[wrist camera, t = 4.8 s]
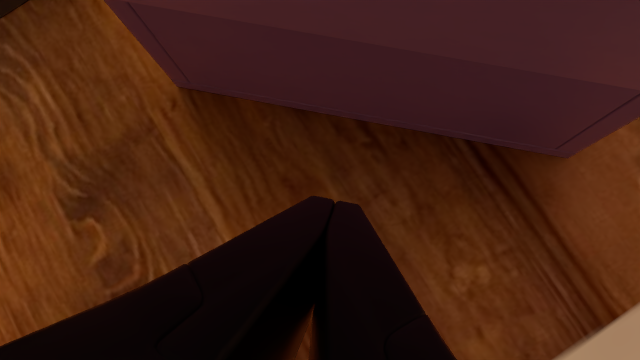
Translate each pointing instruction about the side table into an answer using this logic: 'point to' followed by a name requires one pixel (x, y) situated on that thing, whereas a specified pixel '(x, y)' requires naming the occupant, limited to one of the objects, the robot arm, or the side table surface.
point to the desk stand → (9, 5)
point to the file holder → (380, 82)
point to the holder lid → (465, 30)
